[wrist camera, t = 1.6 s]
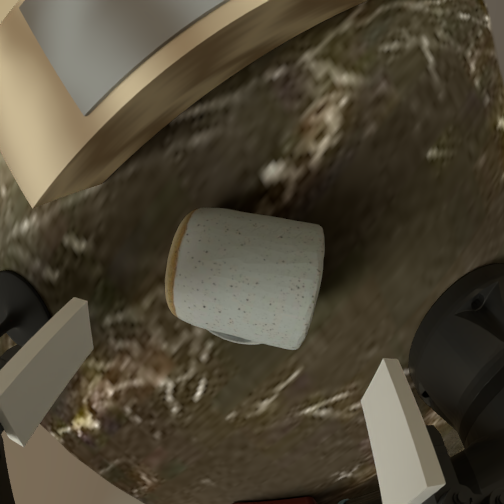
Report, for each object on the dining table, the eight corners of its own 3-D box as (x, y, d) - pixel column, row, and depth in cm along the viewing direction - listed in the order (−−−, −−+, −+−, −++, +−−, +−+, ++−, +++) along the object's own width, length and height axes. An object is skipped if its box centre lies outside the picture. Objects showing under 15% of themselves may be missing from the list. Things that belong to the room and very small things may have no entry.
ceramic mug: (198, 192, 21) (158, 224, 14) (318, 211, 21) (337, 253, 14) (189, 322, 25) (159, 387, 18) (289, 339, 25) (289, 411, 18)
